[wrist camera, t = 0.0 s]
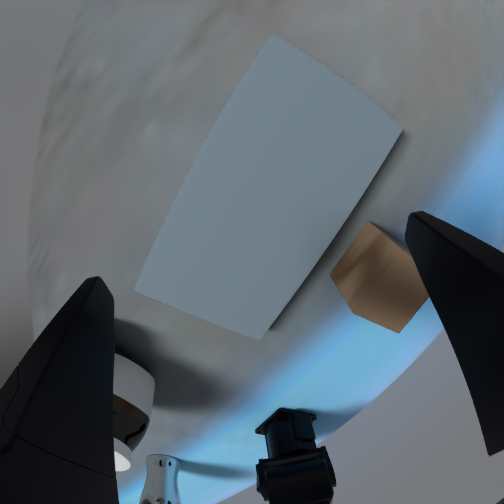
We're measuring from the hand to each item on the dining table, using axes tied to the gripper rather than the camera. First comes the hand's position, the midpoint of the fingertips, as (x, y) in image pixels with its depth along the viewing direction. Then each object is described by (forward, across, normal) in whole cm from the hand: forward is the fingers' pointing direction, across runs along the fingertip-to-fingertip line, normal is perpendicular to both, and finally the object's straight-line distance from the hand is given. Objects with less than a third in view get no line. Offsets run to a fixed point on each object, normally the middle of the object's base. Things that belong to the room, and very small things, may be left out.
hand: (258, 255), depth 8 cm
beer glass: (+4, +22, +46) cm, 51 cm away
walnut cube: (+12, -11, +14) cm, 22 cm away
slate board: (+14, -2, +7) cm, 16 cm away
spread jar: (+11, +18, +20) cm, 29 cm away
